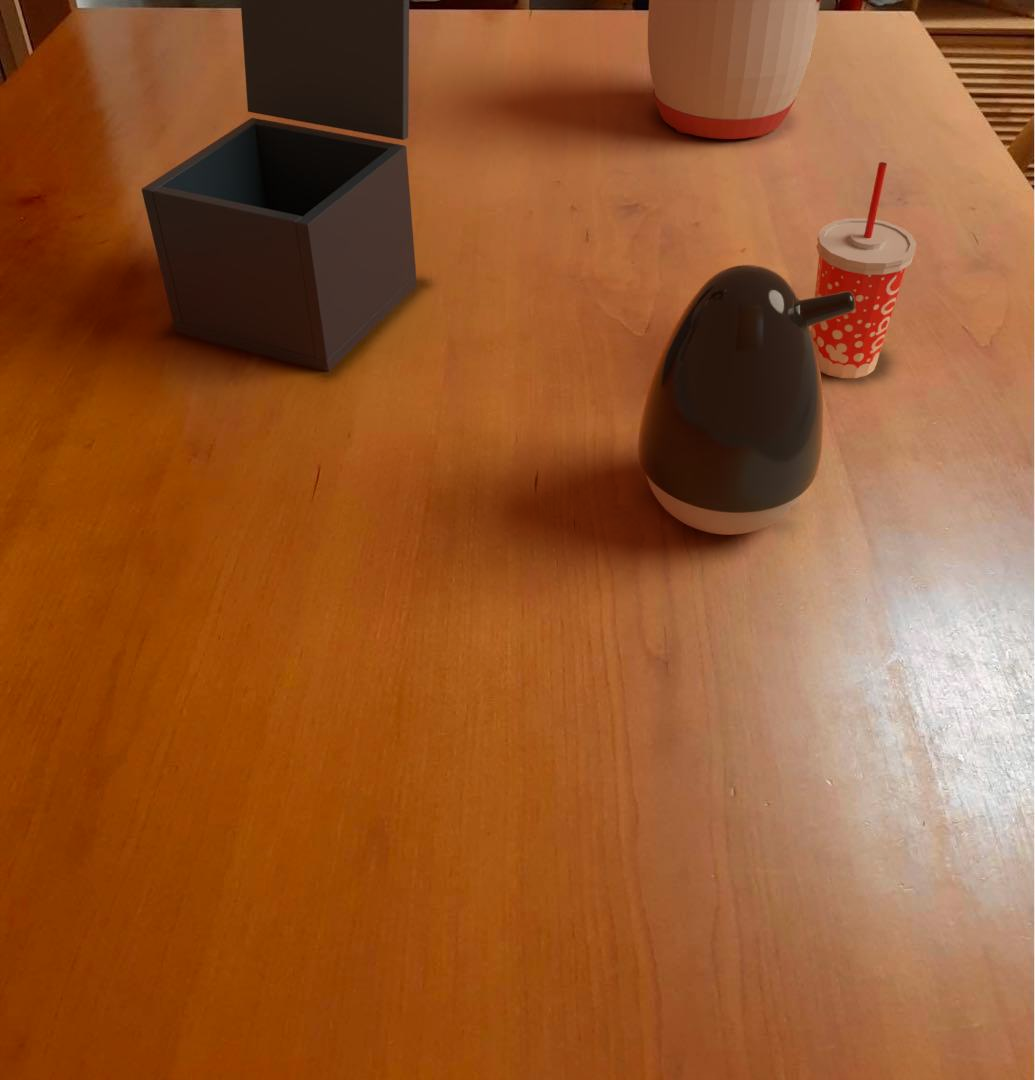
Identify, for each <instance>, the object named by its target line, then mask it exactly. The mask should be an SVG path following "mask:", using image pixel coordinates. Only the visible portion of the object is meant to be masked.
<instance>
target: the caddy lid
mask: <svg viewBox="0 0 1035 1080" xmlns="http://www.w3.org/2000/svg"><path fill="white" fill-rule="evenodd" d="M240 12H241V27H242V29H241V30H242V43H243V57H244V58H243V60H244V73H245V74H244V76H245V85H246V86H245V87H246V105H247V112H248V113H251V114H257V115H263V116H269V117H273V118H280V119H286V120H291V121H297V122H302V123H307V124H312V125H313V124H314V125H318V126H325V127H328V128H335V129H338V130H339V129H340V130H346V131H352V132H357V133H362V134H368V135H373V136H379V137H384V138H389V139H395V140H401V141H404V140H407V139H408V138H409V104H410V103H409V100H410V99H409V95H410V93H409V92H410V90H409V89H410V83H409V82H410V79H409V78H410V0H240Z"/></svg>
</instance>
